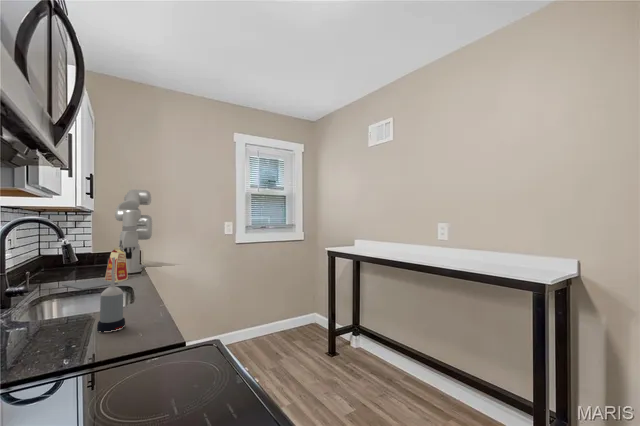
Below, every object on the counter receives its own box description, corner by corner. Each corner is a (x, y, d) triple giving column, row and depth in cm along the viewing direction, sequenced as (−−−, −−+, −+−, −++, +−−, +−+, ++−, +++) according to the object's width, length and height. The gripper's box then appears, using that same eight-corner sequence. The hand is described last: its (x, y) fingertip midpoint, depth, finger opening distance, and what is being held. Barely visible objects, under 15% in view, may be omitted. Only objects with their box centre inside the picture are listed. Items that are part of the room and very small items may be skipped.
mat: (97, 280, 189) (97, 279, 189) (117, 283, 180) (117, 282, 180) (62, 285, 173) (62, 284, 173) (82, 289, 164) (82, 288, 164)
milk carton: (117, 282, 184) (117, 248, 184) (103, 281, 186) (104, 247, 186) (129, 279, 193) (130, 246, 193) (116, 278, 195) (117, 246, 195)
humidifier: (119, 332, 106) (121, 258, 107) (92, 333, 105) (94, 259, 105) (128, 324, 114) (130, 255, 115) (103, 325, 113) (105, 256, 113)
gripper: (136, 228, 205) (136, 257, 204) (113, 229, 191) (112, 259, 191) (144, 229, 201) (143, 257, 201) (121, 229, 188) (120, 260, 187)
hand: (128, 258), depth 196 cm, fingers closed
